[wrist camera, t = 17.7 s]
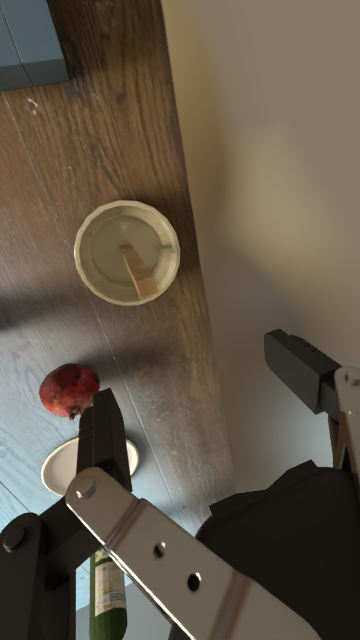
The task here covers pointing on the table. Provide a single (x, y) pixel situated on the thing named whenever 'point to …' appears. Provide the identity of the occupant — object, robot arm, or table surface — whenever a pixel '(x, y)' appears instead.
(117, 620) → the wine bottle
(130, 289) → the bowl
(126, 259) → the stick
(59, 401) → the fruit
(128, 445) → the plate
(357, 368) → the robot arm
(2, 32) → the holder
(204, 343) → the table surface
